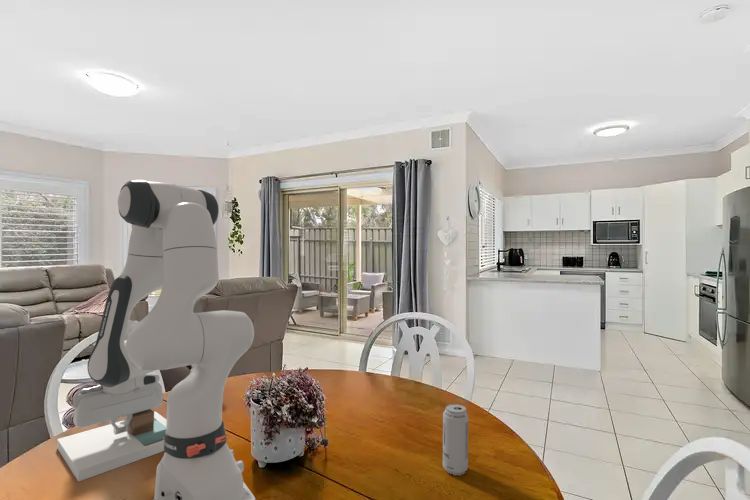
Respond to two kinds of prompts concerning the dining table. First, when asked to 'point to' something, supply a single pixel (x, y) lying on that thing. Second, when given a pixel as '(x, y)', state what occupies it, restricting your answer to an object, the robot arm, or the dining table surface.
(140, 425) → the walnut block
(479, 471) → the dining table surface
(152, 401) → the robot arm
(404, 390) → the dining table surface
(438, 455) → the dining table surface
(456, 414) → the energy drink can
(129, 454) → the board
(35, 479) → the dining table surface
